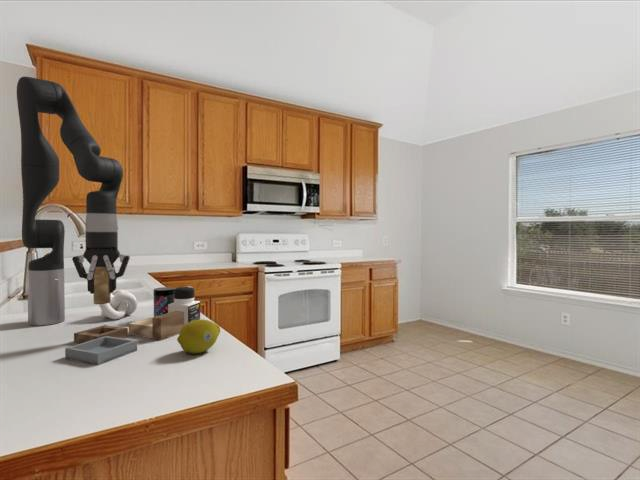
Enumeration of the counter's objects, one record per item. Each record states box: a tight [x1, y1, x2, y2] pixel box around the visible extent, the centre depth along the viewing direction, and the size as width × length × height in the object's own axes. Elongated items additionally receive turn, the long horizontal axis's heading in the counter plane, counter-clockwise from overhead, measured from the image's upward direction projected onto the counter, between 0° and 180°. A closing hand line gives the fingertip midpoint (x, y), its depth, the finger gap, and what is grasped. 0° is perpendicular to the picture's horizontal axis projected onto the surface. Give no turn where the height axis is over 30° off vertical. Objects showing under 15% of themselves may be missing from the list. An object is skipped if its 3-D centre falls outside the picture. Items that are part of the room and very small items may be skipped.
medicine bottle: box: [168, 286, 201, 325], centre depth 116 cm, size 7×7×12 cm
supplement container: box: [152, 286, 176, 317], centre depth 123 cm, size 7×7×10 cm
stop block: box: [152, 311, 184, 341], centre depth 104 cm, size 3×9×6 cm, turn 159°
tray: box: [64, 336, 138, 366], centre depth 88 cm, size 11×11×2 cm
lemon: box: [176, 319, 221, 355], centre depth 90 cm, size 11×8×8 cm
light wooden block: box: [128, 316, 153, 339], centre depth 107 cm, size 10×8×4 cm
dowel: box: [93, 267, 112, 305], centre depth 100 cm, size 4×4×10 cm
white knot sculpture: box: [98, 289, 138, 321], centre depth 126 cm, size 11×12×9 cm
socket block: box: [73, 324, 129, 344], centre depth 100 cm, size 9×9×2 cm
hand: (102, 292), depth 100 cm, fingers closed on dowel, 4 cm apart
